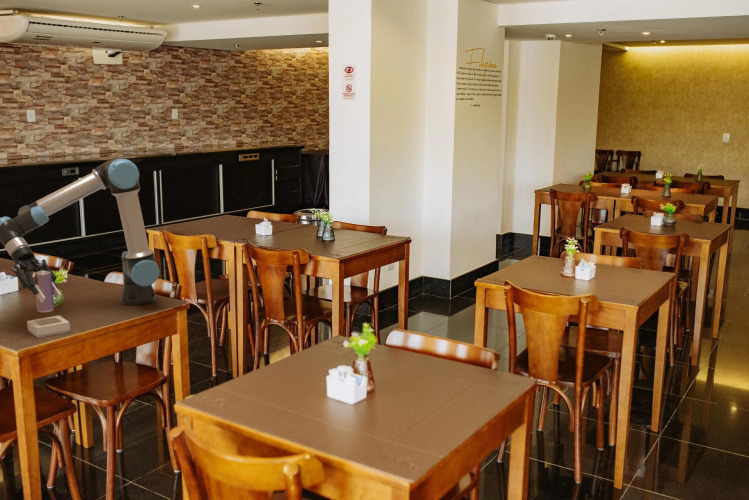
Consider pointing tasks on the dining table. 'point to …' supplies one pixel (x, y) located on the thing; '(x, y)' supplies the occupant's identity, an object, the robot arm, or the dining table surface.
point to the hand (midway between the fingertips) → (50, 298)
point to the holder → (48, 326)
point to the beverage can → (44, 291)
